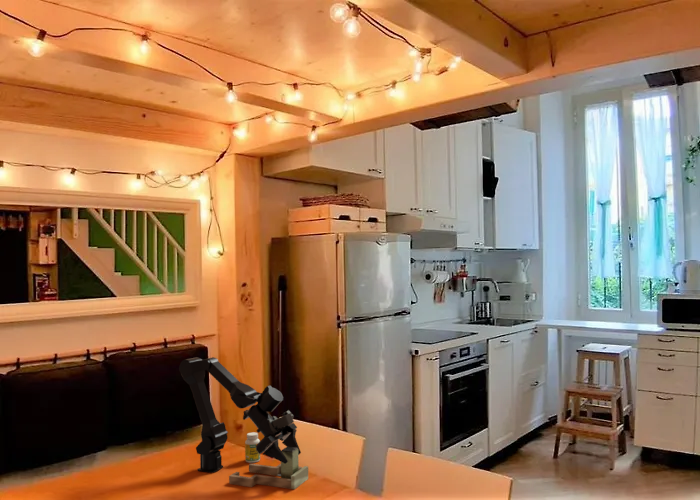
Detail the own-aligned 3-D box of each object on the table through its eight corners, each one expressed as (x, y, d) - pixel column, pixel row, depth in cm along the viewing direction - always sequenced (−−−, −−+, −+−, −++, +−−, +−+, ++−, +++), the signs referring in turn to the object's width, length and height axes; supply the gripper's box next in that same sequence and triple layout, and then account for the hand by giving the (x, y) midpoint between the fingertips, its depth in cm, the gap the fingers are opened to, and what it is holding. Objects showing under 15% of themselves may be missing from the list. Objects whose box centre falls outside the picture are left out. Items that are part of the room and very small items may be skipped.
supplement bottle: (256, 457, 214) (256, 430, 214) (262, 461, 209) (262, 434, 210) (242, 460, 211) (242, 433, 211) (248, 464, 206) (248, 436, 207)
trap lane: (229, 483, 188) (229, 471, 188) (254, 467, 202) (254, 456, 202) (290, 492, 179) (290, 479, 179) (312, 475, 194) (312, 463, 194)
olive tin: (281, 482, 187) (280, 450, 187) (287, 478, 191) (286, 446, 191) (292, 484, 186) (292, 451, 186) (298, 479, 189) (298, 447, 190)
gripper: (264, 411, 182) (295, 450, 177) (291, 398, 199) (321, 434, 195) (242, 434, 185) (273, 473, 180) (271, 419, 202) (300, 455, 197)
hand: (293, 458), depth 188 cm, fingers open, 9 cm apart
